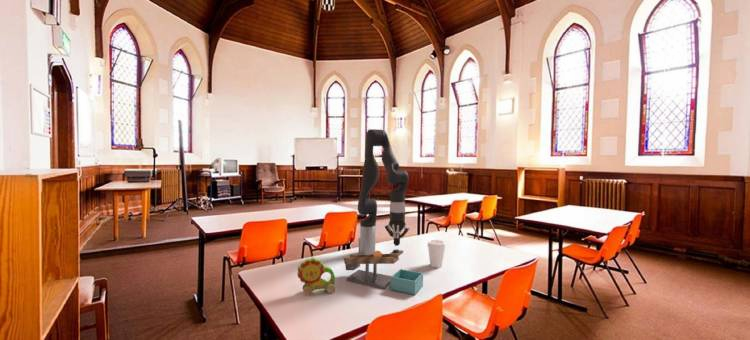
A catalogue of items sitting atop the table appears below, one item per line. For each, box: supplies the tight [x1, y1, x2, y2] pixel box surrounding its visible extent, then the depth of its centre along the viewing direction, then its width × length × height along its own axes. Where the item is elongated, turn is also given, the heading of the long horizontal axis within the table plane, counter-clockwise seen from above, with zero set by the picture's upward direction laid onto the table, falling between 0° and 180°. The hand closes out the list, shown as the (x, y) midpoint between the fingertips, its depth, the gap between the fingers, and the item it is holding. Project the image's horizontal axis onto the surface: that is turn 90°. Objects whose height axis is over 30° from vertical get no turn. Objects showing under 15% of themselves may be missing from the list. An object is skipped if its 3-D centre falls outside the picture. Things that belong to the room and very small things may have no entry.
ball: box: [374, 250, 383, 257], centre depth 152 cm, size 4×4×4 cm
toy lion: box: [297, 257, 336, 296], centre depth 139 cm, size 16×5×15 cm, turn 105°
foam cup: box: [427, 239, 446, 269], centre depth 175 cm, size 10×9×13 cm
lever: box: [343, 248, 404, 271], centre depth 159 cm, size 26×18×6 cm
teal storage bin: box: [390, 268, 424, 296], centre depth 146 cm, size 11×11×6 cm
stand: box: [345, 262, 393, 290], centre depth 154 cm, size 20×12×10 cm, turn 64°
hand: (396, 245), depth 160 cm, fingers closed
